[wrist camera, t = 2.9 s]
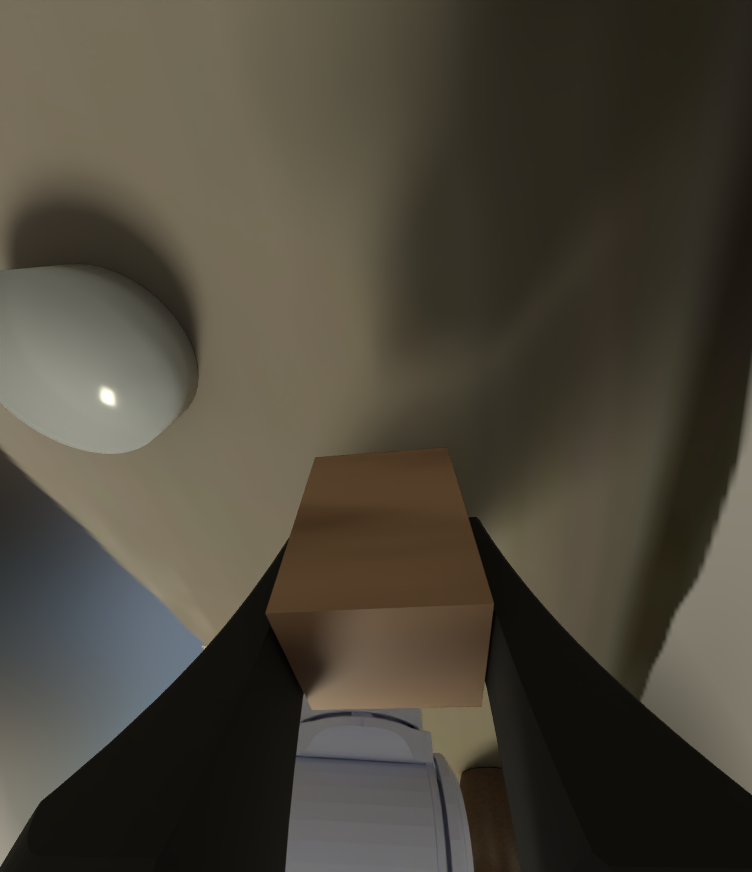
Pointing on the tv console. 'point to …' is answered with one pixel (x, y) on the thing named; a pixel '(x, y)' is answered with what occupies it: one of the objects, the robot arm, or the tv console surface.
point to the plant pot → (489, 821)
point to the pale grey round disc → (91, 357)
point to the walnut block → (384, 586)
